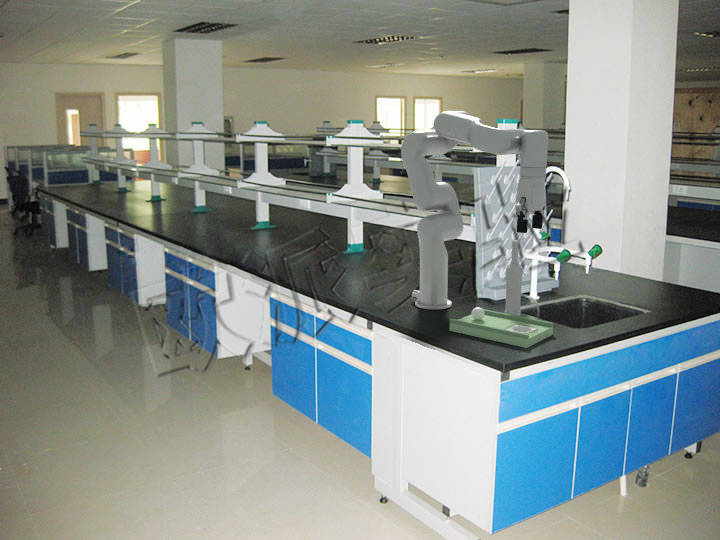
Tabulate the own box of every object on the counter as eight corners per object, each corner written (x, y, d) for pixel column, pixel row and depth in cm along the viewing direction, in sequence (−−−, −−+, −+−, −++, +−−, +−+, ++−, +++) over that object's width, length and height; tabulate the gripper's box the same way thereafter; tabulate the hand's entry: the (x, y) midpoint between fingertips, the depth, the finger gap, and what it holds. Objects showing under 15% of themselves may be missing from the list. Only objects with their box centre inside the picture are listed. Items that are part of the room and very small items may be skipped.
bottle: (518, 314, 228) (521, 239, 223) (522, 318, 223) (525, 242, 218) (502, 314, 228) (505, 239, 223) (506, 318, 223) (509, 242, 218)
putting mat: (449, 330, 211) (449, 318, 210) (477, 319, 223) (477, 308, 222) (526, 348, 194) (527, 335, 194) (552, 334, 206) (553, 322, 205)
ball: (468, 320, 213) (469, 307, 212) (475, 317, 216) (476, 305, 215) (480, 322, 211) (480, 309, 210) (486, 319, 213) (487, 307, 213)
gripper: (534, 170, 212) (531, 225, 216) (507, 174, 199) (504, 232, 203) (557, 171, 207) (553, 228, 211) (531, 175, 194) (527, 235, 198)
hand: (529, 230), depth 207 cm, fingers open, 9 cm apart
